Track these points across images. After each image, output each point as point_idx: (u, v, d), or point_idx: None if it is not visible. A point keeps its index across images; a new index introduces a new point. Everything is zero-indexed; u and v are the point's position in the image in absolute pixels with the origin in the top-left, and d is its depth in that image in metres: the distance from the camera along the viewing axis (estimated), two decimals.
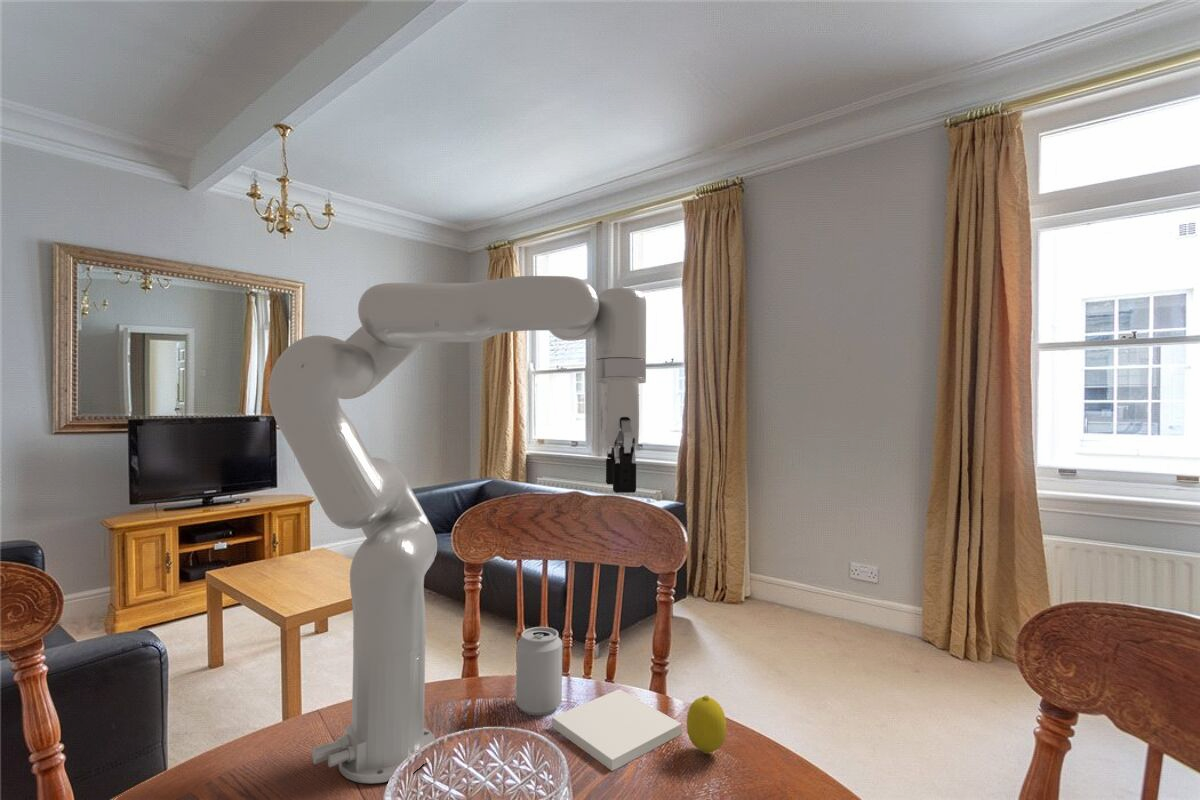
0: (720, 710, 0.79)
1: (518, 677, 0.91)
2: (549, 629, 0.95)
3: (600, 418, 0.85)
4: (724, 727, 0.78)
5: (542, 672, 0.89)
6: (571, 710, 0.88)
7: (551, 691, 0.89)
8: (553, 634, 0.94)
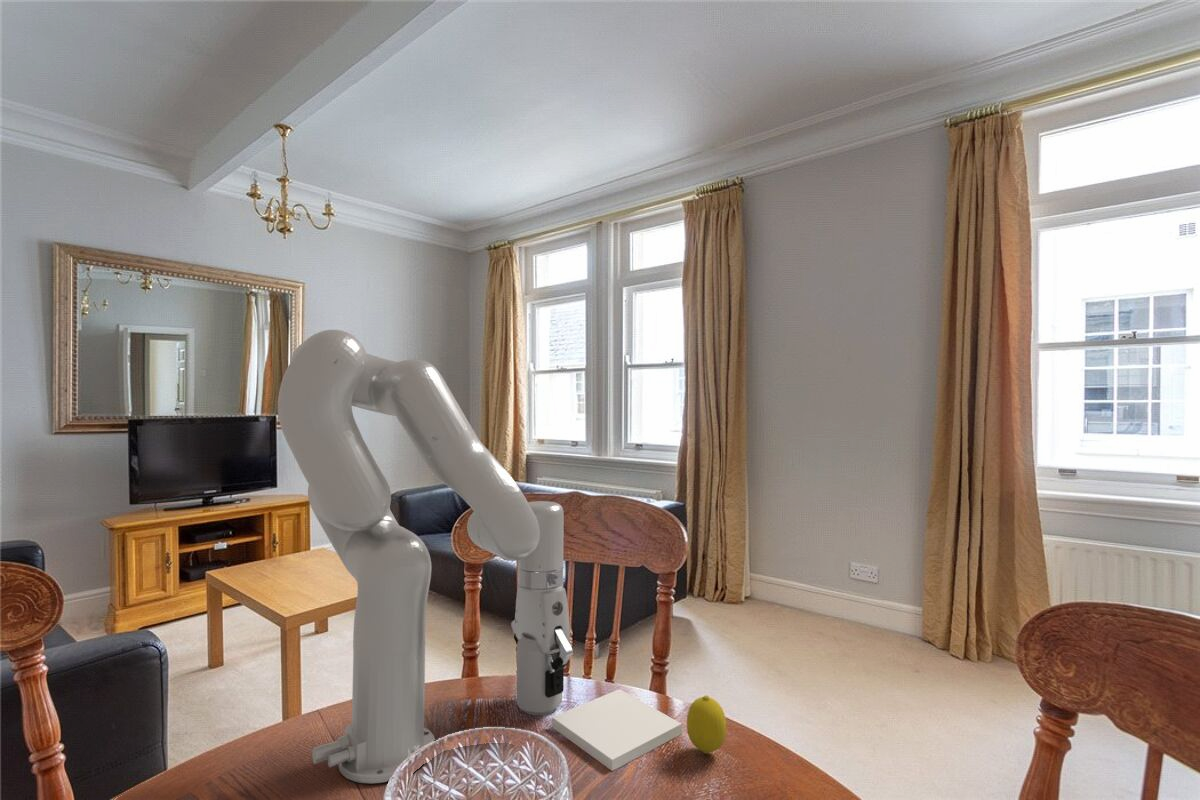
0: (720, 710, 0.79)
1: (518, 677, 0.91)
2: None
3: None
4: (724, 727, 0.78)
5: (542, 672, 0.89)
6: (571, 710, 0.88)
7: None
8: None
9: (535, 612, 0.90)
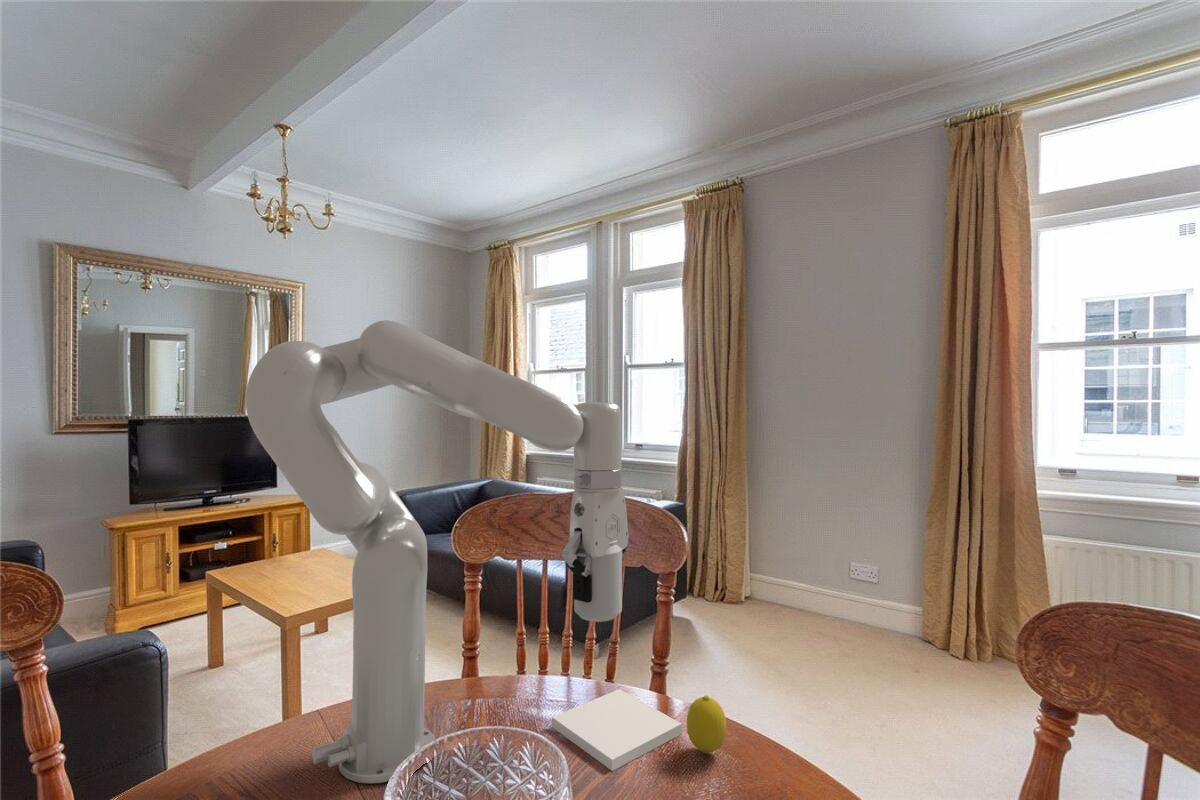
0: (720, 710, 0.79)
1: None
2: (614, 541, 0.87)
3: (603, 528, 0.85)
4: (724, 727, 0.78)
5: None
6: (571, 710, 0.88)
7: None
8: None
9: None
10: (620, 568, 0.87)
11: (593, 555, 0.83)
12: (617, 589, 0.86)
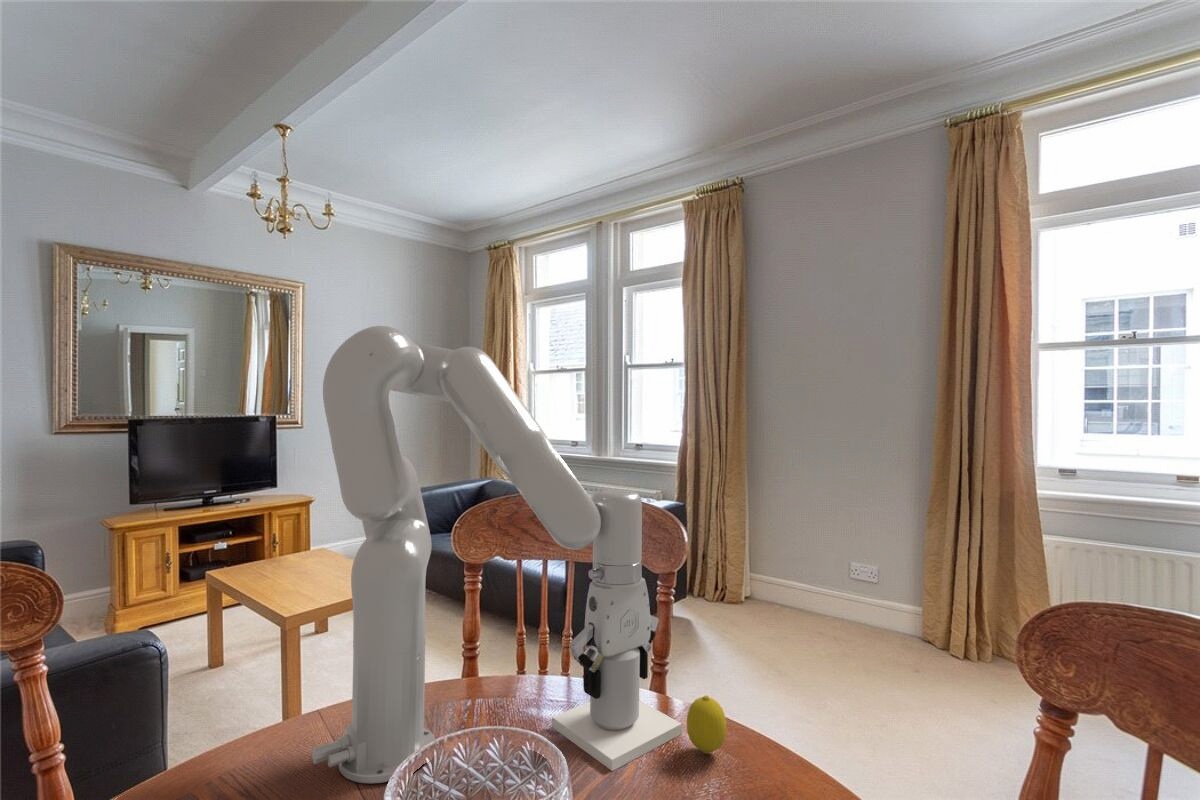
0: (720, 710, 0.79)
1: None
2: None
3: (617, 625, 0.82)
4: (724, 727, 0.78)
5: None
6: (571, 710, 0.88)
7: (595, 701, 0.83)
8: None
9: None
10: (636, 675, 0.84)
11: (604, 653, 0.81)
12: (631, 697, 0.83)
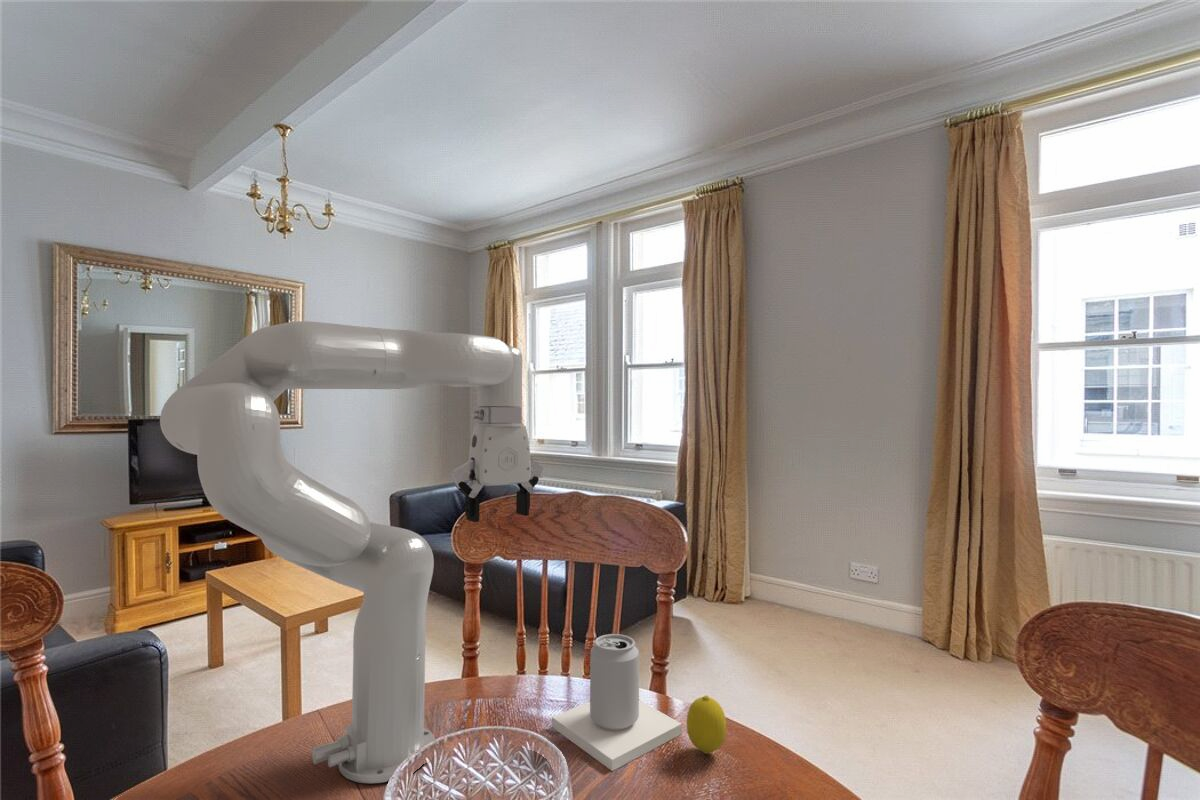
0: (720, 710, 0.79)
1: None
2: (630, 646, 0.84)
3: (495, 459, 0.93)
4: (724, 727, 0.78)
5: (590, 675, 0.85)
6: (571, 710, 0.88)
7: (595, 703, 0.83)
8: None
9: None
10: (635, 675, 0.84)
11: (481, 481, 0.91)
12: (631, 698, 0.83)
